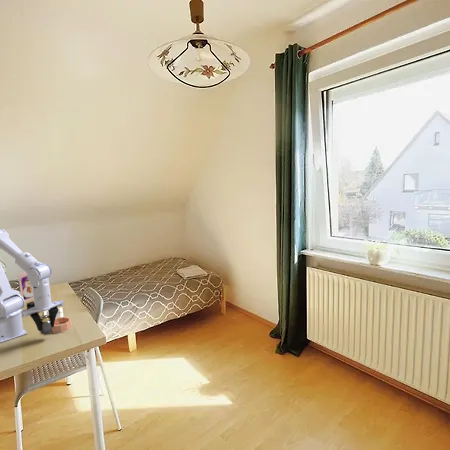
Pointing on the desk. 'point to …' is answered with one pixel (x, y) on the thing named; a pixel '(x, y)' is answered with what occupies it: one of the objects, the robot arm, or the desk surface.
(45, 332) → the battery
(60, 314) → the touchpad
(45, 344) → the desk surface
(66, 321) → the peach round shallow bowl
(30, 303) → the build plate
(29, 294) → the greeting card
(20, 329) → the robot arm
